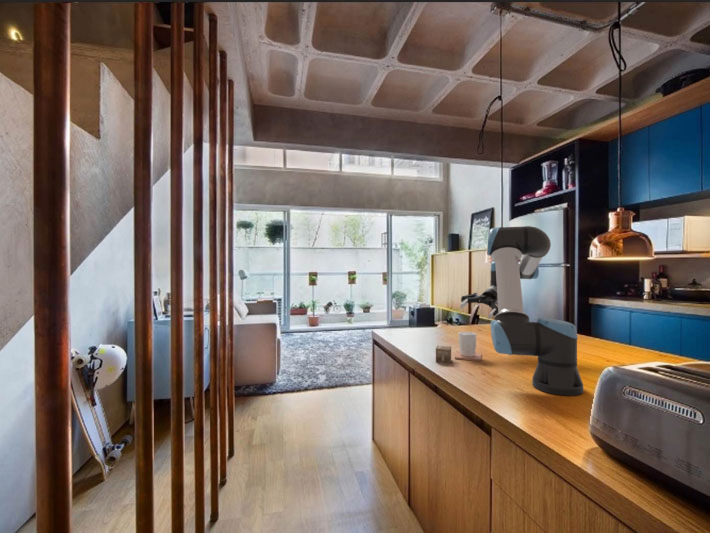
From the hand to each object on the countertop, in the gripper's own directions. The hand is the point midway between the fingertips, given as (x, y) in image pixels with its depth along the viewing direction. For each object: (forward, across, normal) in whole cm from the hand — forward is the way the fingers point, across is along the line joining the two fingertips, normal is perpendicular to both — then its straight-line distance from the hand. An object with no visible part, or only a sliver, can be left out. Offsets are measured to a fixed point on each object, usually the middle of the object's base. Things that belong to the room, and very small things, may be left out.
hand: (475, 311), depth 160 cm
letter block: (+21, +3, -17) cm, 28 cm away
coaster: (+9, -3, -19) cm, 21 cm away
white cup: (+8, -3, -18) cm, 20 cm away
